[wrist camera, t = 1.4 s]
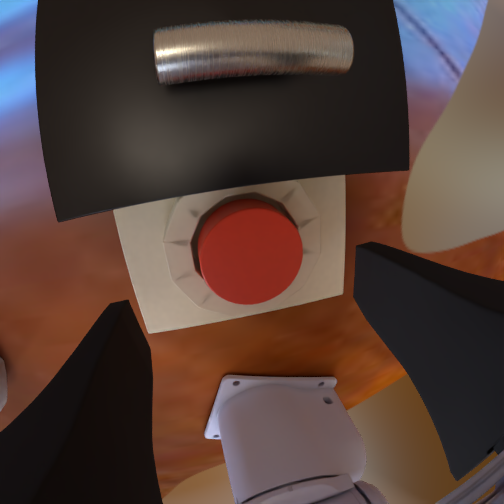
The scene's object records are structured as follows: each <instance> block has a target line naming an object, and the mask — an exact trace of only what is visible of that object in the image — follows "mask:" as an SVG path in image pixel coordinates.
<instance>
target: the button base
mask: <svg viewBox="0 0 504 504" xmlns="http://www.w3.org/2000/svg"><path fill="white" fill-rule="evenodd" d="M239 199H257V200H261V201H264V202H267V203H269V204H271V205H272V206H274V207H275V208H276V209H278V210H279V211H280V212H281V213H282V214H283V215H285V216H286V217H287V218H288V219H289V220H290V221H291V222H292V223H293V224H294V226H295V227H296V229H297V230H298V232H299V234H300V237H301V240H302V245H303V258H302V263H301V267H300V270H299V272H298V274H297V276H296V277H295V279H294V281H293V282H292V283H291V285H290V286H289V287H288V288H287V289H286V290H284V291H283V292H282V293H281V294H279V295H278V296H276V297H275V298H273V299H271V300H268V301H266V302H263V303H259V304H253V305H241V304H235V303H232V302H229V301H226V300H224V299H222V298H221V297H219V296H218V295H216V294H215V293H214V292H213V291H212V290H211V289H210V288H209V287H208V285H207V284H206V282H205V281H204V278H203V276H202V273H201V269H200V263H199V256H198V238H199V234H200V231H201V228H202V226H203V224H204V223H205V221H206V220H207V218H208V217H209V216H210V215H211V214H212V213H213V212H214V211H215V210H216V209H218V208H219V207H221V206H222V205H224V204H226V203H228V202H231V201H234V200H239ZM113 212H114V216H115V221H116V225H117V229H118V233H119V237H120V241H121V245H122V249H123V253H124V256H125V260H126V264H127V267H128V271H129V274H130V278H131V281H132V284H133V288H134V291H135V294H136V297H137V301H138V304H139V307H140V310H141V313H142V316H143V319H144V322H145V325H146V328H147V330H148V333H149V334H150V333H156V332H163V331H169V330H175V329H181V328H187V327H192V326H198V325H204V324H209V323H214V322H220V321H225V320H230V319H235V318H240V317H245V316H250V315H255V314H260V313H264V312H269V311H274V310H278V309H283V308H287V307H292V306H296V305H300V304H305V303H309V302H313V301H317V300H321V299H325V298H329V297H333V296H337V295H341V294H343V285H344V265H345V228H346V190H345V175H338V176H328V177H318V178H308V179H299V180H291V181H282V182H274V183H266V184H259V185H251V186H244V187H237V188H230V189H224V190H217V191H211V192H205V193H199V194H193V195H187V196H181V197H176V198H170V199H165V200H159V201H154V202H149V203H144V204H139V205H134V206H129V207H124V208H119V209H115V210H113Z"/></svg>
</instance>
